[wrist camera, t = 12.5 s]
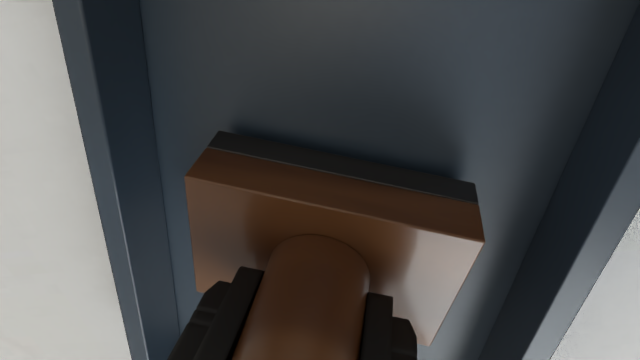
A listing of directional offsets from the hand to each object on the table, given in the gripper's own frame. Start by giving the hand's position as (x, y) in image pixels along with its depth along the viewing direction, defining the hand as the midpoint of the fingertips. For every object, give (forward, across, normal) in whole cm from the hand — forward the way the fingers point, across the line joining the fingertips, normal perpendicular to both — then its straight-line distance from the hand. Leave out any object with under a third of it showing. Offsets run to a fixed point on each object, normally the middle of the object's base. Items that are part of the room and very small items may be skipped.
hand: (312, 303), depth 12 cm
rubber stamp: (+3, 0, -1) cm, 3 cm away
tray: (+4, 0, 0) cm, 4 cm away
